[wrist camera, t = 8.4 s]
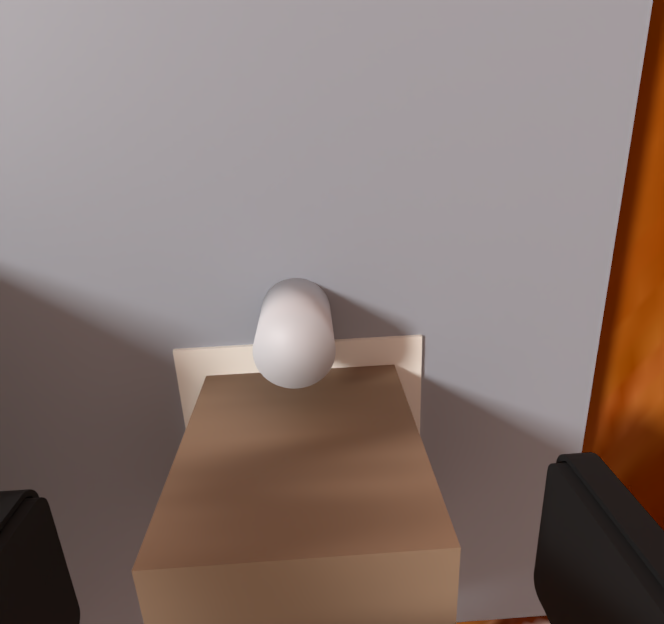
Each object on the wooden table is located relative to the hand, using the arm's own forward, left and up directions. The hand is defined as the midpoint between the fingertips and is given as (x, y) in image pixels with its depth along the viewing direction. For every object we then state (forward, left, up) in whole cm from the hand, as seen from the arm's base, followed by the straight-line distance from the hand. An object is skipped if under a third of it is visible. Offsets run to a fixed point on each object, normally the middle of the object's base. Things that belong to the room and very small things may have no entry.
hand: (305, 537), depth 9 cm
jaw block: (0, 0, -3) cm, 3 cm away
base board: (+2, +5, -4) cm, 7 cm away
